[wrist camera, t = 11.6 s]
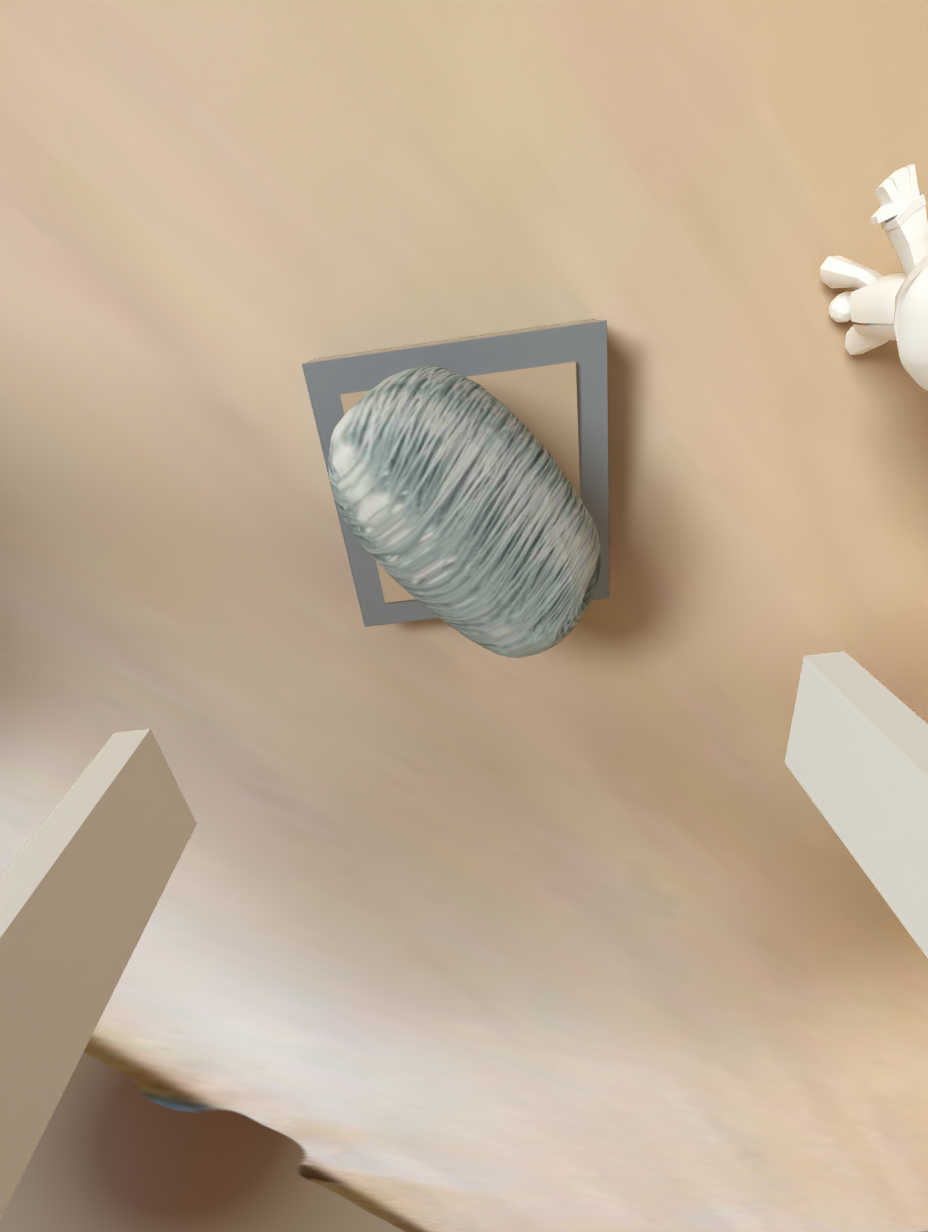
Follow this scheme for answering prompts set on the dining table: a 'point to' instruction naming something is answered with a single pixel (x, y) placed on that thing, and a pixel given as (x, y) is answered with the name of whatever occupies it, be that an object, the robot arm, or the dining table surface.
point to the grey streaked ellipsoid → (466, 510)
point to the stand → (524, 382)
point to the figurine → (889, 281)
